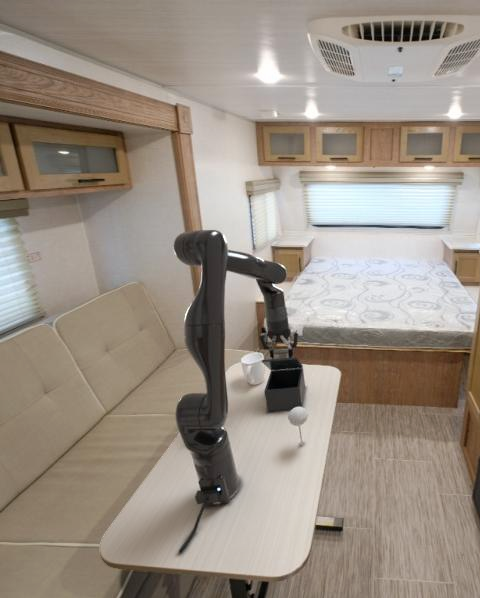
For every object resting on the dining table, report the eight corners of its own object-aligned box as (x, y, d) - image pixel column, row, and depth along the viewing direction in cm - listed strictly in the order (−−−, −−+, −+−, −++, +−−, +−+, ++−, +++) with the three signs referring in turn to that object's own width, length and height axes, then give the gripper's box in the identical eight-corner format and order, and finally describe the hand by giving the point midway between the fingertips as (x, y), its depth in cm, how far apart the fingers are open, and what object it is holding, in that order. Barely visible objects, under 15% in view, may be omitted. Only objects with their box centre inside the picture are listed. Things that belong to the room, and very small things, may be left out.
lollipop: (313, 438, 117) (309, 403, 111) (307, 452, 112) (303, 415, 106) (296, 437, 118) (291, 402, 112) (289, 450, 112) (283, 414, 106)
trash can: (302, 409, 131) (299, 388, 127) (268, 412, 129) (264, 391, 125) (305, 387, 143) (303, 367, 140) (274, 390, 141) (271, 370, 138)
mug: (249, 376, 151) (244, 352, 146) (269, 374, 152) (265, 351, 147) (240, 392, 140) (235, 368, 135) (262, 391, 141) (258, 366, 136)
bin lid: (297, 359, 126) (297, 346, 128) (261, 362, 124) (262, 348, 126) (302, 367, 139) (302, 355, 141) (270, 370, 137) (271, 358, 139)
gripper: (253, 322, 120) (260, 364, 126) (295, 319, 122) (300, 360, 128) (258, 314, 127) (264, 354, 133) (298, 311, 129) (302, 351, 135)
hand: (282, 357), depth 130 cm, fingers closed on bin lid, 5 cm apart
